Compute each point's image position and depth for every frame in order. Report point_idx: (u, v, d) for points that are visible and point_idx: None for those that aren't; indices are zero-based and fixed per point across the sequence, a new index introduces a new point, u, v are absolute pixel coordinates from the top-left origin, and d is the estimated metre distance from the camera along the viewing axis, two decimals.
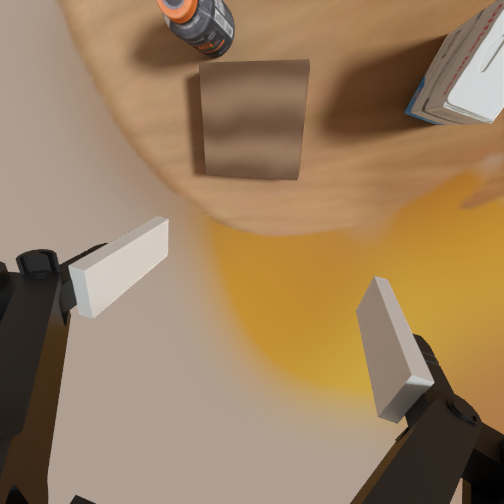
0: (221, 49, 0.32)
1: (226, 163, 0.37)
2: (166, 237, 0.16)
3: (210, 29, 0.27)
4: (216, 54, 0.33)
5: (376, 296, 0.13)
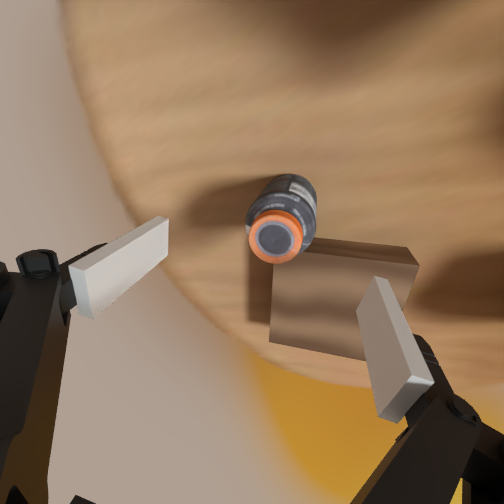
0: None
1: (296, 336, 0.31)
2: (166, 237, 0.16)
3: None
4: None
5: (376, 296, 0.13)
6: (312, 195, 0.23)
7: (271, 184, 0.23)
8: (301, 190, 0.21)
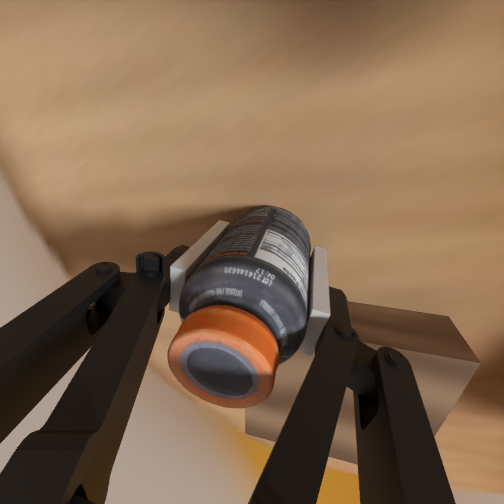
0: None
1: None
2: None
3: None
4: None
5: (312, 261, 0.15)
6: (302, 249, 0.14)
7: (233, 230, 0.14)
8: (281, 249, 0.12)
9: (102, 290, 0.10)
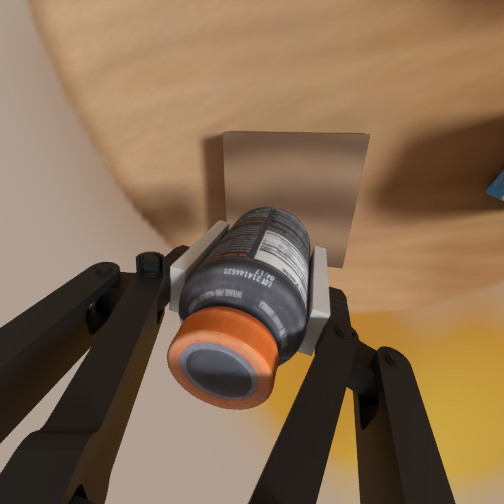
0: None
1: None
2: None
3: None
4: None
5: (312, 261, 0.15)
6: (302, 250, 0.14)
7: (233, 231, 0.14)
8: (280, 250, 0.12)
9: (102, 290, 0.10)
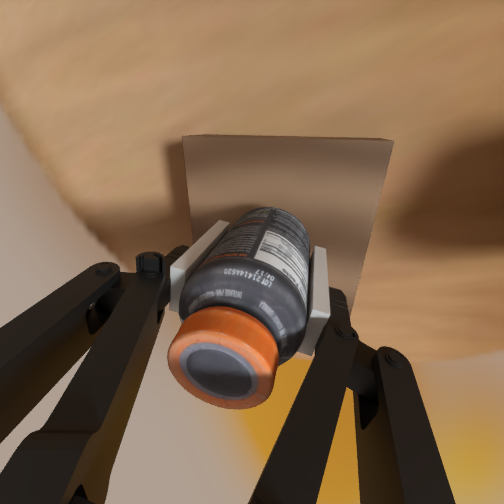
0: None
1: None
2: None
3: None
4: None
5: (312, 261, 0.15)
6: (302, 250, 0.14)
7: (233, 231, 0.14)
8: (280, 250, 0.12)
9: (102, 290, 0.10)
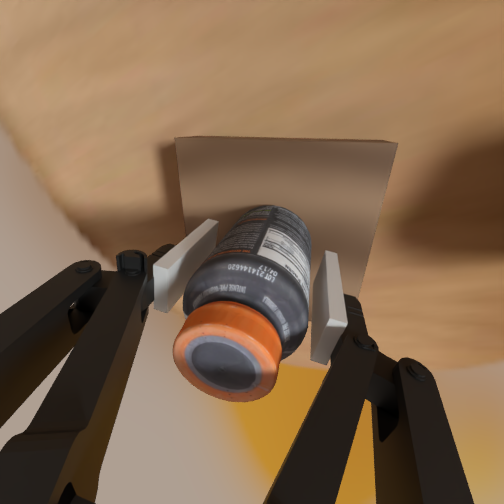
0: None
1: None
2: (215, 238, 0.17)
3: None
4: None
5: (324, 266, 0.15)
6: (303, 247, 0.14)
7: (235, 229, 0.14)
8: (283, 247, 0.12)
9: (84, 288, 0.10)
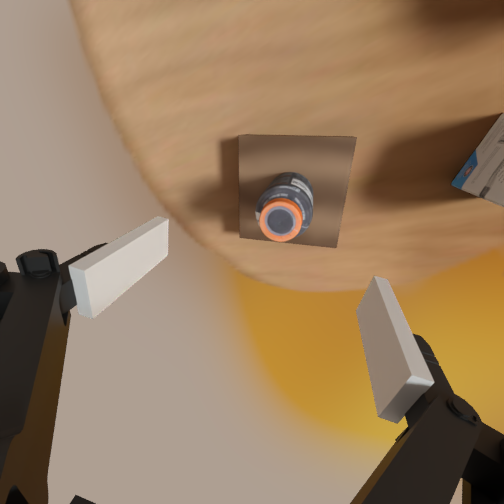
0: None
1: None
2: (166, 237, 0.16)
3: None
4: None
5: (376, 296, 0.13)
6: (309, 189, 0.28)
7: (276, 180, 0.28)
8: (300, 184, 0.26)
9: None
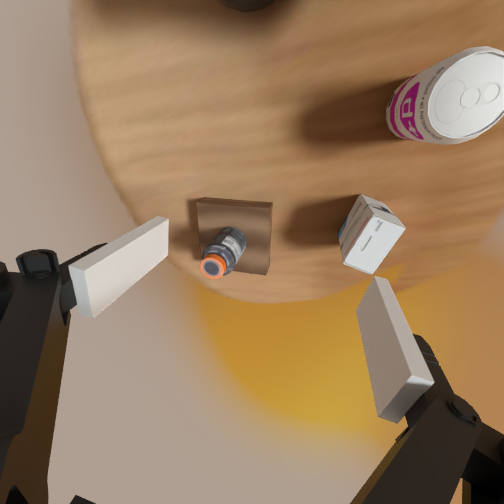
0: None
1: None
2: (166, 237, 0.16)
3: None
4: None
5: (376, 296, 0.13)
6: (238, 242, 0.44)
7: (217, 236, 0.44)
8: (229, 241, 0.42)
9: None
